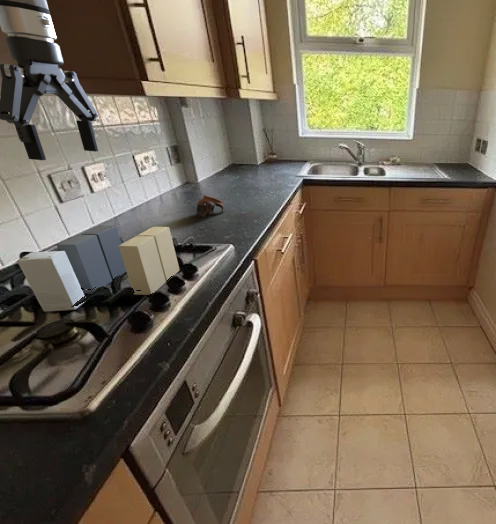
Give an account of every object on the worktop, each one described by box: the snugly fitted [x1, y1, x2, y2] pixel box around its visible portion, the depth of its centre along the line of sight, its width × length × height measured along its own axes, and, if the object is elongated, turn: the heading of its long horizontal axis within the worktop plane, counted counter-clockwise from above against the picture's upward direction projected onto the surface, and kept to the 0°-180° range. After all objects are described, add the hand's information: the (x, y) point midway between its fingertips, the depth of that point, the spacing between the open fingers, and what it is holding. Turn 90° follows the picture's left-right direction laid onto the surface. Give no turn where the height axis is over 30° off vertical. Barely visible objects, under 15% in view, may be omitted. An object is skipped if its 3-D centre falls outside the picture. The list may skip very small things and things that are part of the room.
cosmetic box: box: [16, 250, 85, 313], centre depth 68 cm, size 6×4×12 cm
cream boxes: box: [118, 226, 180, 296], centre depth 78 cm, size 4×12×12 cm, turn 0°
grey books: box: [56, 224, 127, 294], centre depth 78 cm, size 4×12×12 cm, turn 0°
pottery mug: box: [196, 195, 225, 218], centre depth 130 cm, size 12×10×8 cm
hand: (66, 155), depth 72 cm, fingers open, 13 cm apart
